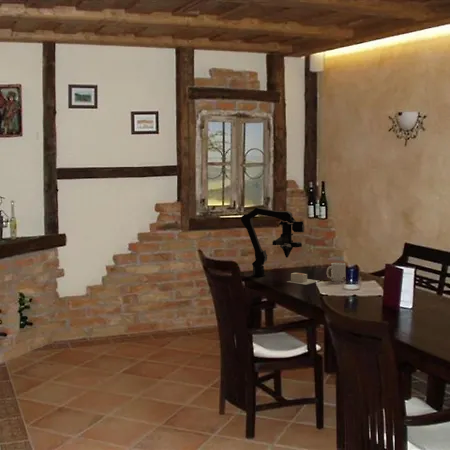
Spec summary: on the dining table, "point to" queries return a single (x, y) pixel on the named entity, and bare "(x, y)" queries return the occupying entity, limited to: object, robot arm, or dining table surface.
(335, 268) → the cup
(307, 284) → the mat
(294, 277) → the block
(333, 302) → the dining table surface
